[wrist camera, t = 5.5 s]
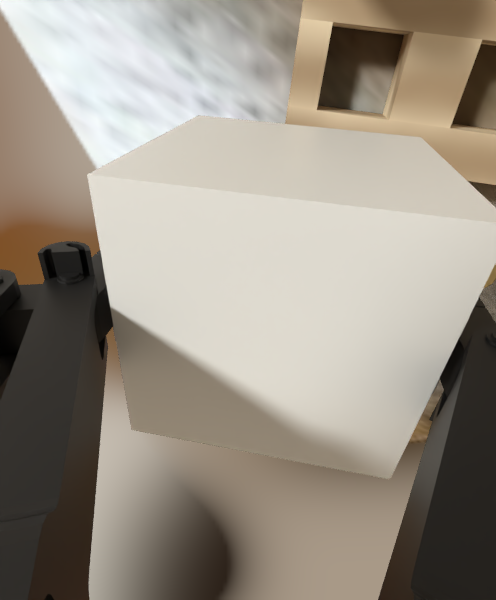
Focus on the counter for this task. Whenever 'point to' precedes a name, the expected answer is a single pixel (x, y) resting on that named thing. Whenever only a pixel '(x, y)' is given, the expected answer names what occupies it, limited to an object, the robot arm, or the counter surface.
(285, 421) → the white cube
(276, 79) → the counter surface
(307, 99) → the socket board
